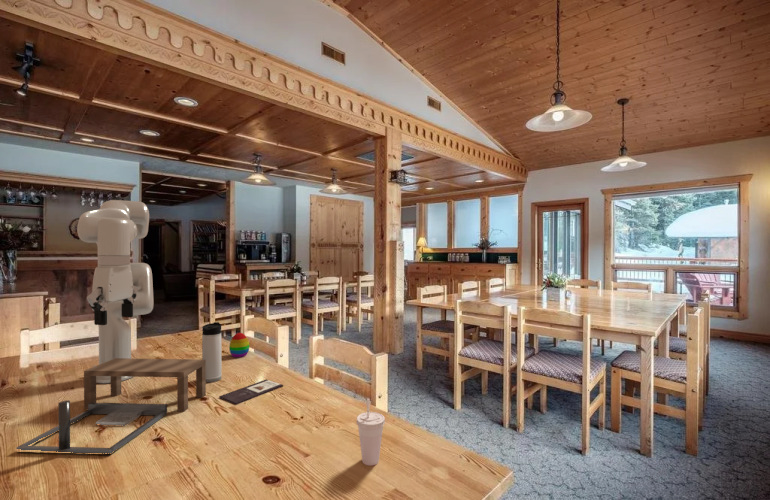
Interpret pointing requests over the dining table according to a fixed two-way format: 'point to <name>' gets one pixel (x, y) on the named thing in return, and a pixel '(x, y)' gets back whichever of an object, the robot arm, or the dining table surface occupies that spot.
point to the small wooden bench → (147, 369)
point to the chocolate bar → (250, 391)
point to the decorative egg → (239, 345)
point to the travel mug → (212, 351)
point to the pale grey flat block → (119, 418)
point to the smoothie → (370, 435)
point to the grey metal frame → (95, 408)
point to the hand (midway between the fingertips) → (114, 320)
